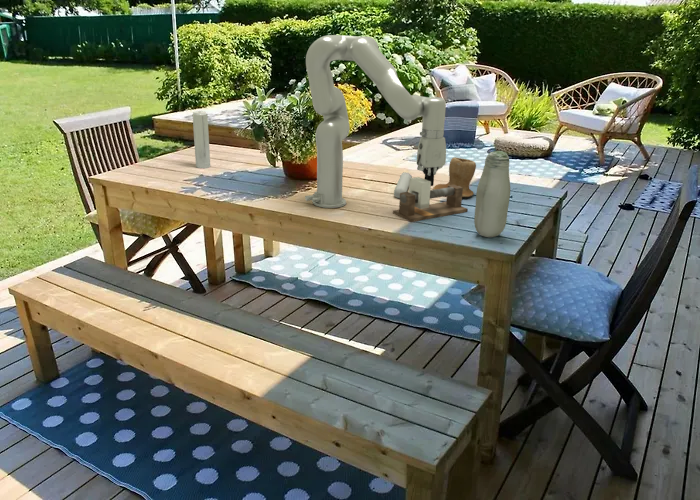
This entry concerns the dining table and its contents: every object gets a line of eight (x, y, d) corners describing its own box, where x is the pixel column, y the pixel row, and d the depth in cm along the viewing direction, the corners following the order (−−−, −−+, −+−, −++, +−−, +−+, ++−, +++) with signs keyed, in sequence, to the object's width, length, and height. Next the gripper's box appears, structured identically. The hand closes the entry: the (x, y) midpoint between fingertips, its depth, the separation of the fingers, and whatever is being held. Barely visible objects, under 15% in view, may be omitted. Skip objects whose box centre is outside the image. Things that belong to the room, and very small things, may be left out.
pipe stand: (411, 222, 212) (412, 198, 209) (392, 213, 221) (393, 190, 218) (467, 211, 225) (469, 189, 222) (447, 204, 234) (449, 182, 231)
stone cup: (478, 194, 248) (482, 158, 242) (466, 201, 239) (469, 163, 233) (444, 188, 256) (447, 152, 250) (431, 194, 247) (434, 157, 241)
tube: (408, 190, 237) (414, 175, 260) (395, 185, 237) (402, 170, 260) (403, 202, 239) (409, 186, 262) (390, 197, 239) (397, 181, 262)
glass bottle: (494, 243, 194) (505, 156, 184) (467, 235, 200) (475, 151, 190) (509, 236, 201) (520, 151, 191) (482, 228, 207) (491, 147, 197)
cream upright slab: (420, 208, 215) (422, 182, 212) (408, 203, 220) (409, 178, 217) (429, 207, 217) (431, 181, 213) (417, 202, 222) (418, 177, 219)
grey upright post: (208, 168, 278) (205, 112, 269) (194, 168, 278) (190, 112, 269) (211, 165, 284) (208, 110, 275) (197, 164, 284) (194, 110, 275)
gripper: (422, 137, 205) (418, 190, 211) (456, 134, 212) (451, 185, 219) (408, 133, 211) (405, 185, 217) (442, 130, 218) (438, 180, 225)
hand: (428, 185), depth 218 cm, fingers closed
